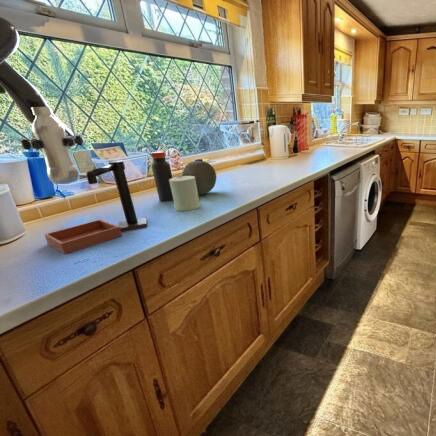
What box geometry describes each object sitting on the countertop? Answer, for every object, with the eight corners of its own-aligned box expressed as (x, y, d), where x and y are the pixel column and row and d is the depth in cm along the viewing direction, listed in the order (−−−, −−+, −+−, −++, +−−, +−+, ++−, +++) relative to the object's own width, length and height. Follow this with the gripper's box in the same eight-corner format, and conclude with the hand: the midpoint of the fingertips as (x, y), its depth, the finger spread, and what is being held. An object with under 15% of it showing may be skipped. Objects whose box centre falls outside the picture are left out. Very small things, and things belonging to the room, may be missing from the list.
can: (196, 202, 124) (190, 173, 120) (203, 207, 117) (198, 176, 113) (172, 207, 118) (165, 177, 114) (178, 212, 112) (172, 180, 108)
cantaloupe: (181, 194, 136) (174, 161, 131) (212, 189, 145) (206, 157, 140) (192, 201, 126) (185, 165, 121) (224, 194, 135) (219, 160, 130)
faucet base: (118, 232, 95) (101, 173, 89) (119, 225, 101) (104, 170, 94) (147, 226, 99) (132, 170, 92) (147, 220, 104) (133, 167, 98)
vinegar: (157, 199, 130) (146, 152, 123) (174, 196, 134) (164, 150, 127) (161, 202, 125) (150, 153, 118) (178, 199, 129) (168, 152, 123)
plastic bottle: (64, 180, 87) (39, 107, 80) (87, 180, 87) (64, 106, 80) (44, 186, 81) (15, 107, 74) (68, 186, 81) (41, 106, 74)
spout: (115, 172, 95) (112, 160, 94) (128, 171, 96) (125, 160, 94) (83, 184, 80) (79, 170, 79) (98, 183, 80) (94, 169, 79)
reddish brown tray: (64, 254, 81) (61, 243, 80) (47, 244, 88) (44, 234, 87) (122, 235, 92) (119, 226, 91) (103, 228, 99) (100, 219, 98)
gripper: (15, 128, 85) (9, 130, 73) (79, 125, 93) (83, 126, 81) (25, 155, 87) (21, 161, 75) (87, 149, 96) (91, 154, 84)
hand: (53, 143), depth 78 cm, fingers closed on plastic bottle, 6 cm apart
